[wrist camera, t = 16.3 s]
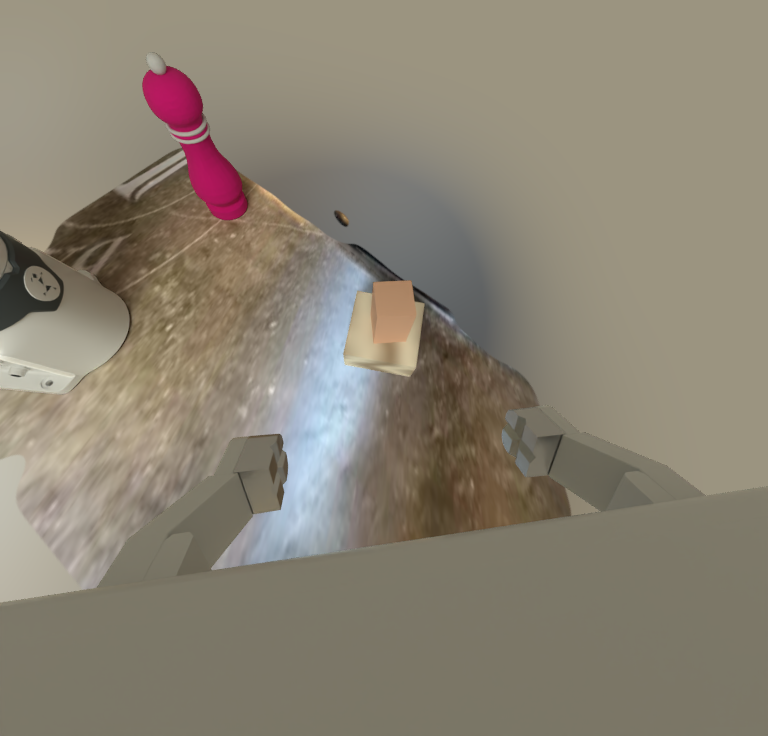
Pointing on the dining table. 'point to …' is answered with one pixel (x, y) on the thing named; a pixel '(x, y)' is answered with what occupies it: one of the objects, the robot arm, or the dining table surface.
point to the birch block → (380, 355)
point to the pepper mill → (193, 138)
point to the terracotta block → (392, 311)
